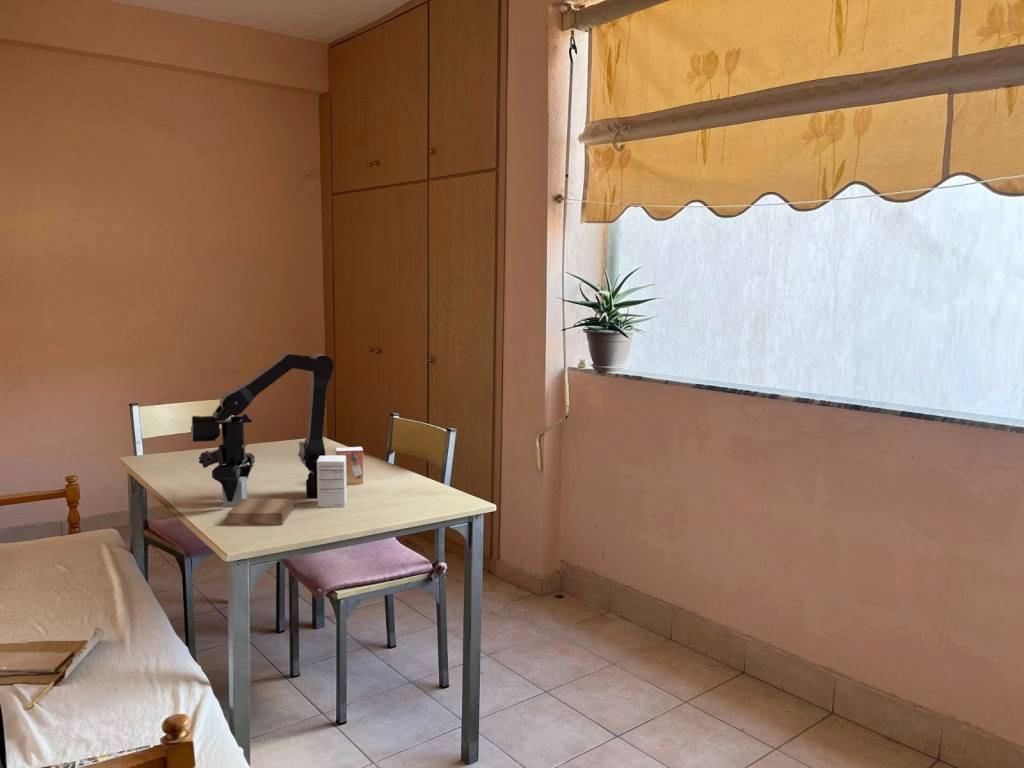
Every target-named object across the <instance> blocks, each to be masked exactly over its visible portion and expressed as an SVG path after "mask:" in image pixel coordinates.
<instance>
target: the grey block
mask: <svg viewBox="0 0 1024 768" xmlns="http://www.w3.org/2000/svg"><path fill="white" fill-rule="evenodd" d="M247 480H248V479H247V477H240V479H239V483H238V485H237V489H236V492H235V495H234V498H233V501H232V502H228V501H227V498H226V495H225V492H224V489H223V487H222V486H221V487H222V488H221V493H222V507H223V508H234V507H235V506H236V505H237V504H238V503H239V502H240V501H241V500H242V499H248V484H247V483H248V482H247Z"/></svg>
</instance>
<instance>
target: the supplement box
mask: <svg viewBox="0 0 1024 768" xmlns="http://www.w3.org/2000/svg"><path fill="white" fill-rule="evenodd" d="M347 493H348V492H347V485H346V456H345V455H335V454H334V455H333V454H332V455H326V456H319V458H318V460H317V497H318V498H317V507H318V508H345V507H346V504H347V500H348V498H347V497H348V495H347Z"/></svg>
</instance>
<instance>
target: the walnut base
mask: <svg viewBox="0 0 1024 768" xmlns="http://www.w3.org/2000/svg"><path fill="white" fill-rule="evenodd" d="M293 511H294V498H247V499H242V500H241V501H240V502H239V503H238V504H237V505H236V506H235V507H232V508H231V509H230V510H229V511H228V513H227V525H228V526H283V524H284V523H285V522H286V521H287V519H288V518H289V517H290V515H291V514H292V512H293Z"/></svg>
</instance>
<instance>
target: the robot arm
mask: <svg viewBox="0 0 1024 768" xmlns="http://www.w3.org/2000/svg"><path fill="white" fill-rule="evenodd" d="M334 368H335V362H334V360H332V358H331V357H330V356H328V355H325V354H322V353H314V354H313V355H304V354H294V353H292V352H286V353H284V354H283V355H281V357H280V358H278V359H277V360H276V361H274V362H273V363H271V364H270V365H269V366H267V367H266V368H265V369H264V370H262V371H261V372H260V373H258V374H257V375H255V376H254V377H253V378H252V379H250V380H248V381H247V382H245V383H244V384H241V385H239V386H237V387H235V388H232V389H230V390H229V391H227V392H225V393H223V394H222V395H221V396H220V399H219V405H218V406H217V408H216V409H215V410H214V412H213V413H212V415H192V416H191V427H190V437H191V443H200V442H201V443H203V442H215V441H216V439H218V438H220V437H221V443H220V444H219V445H218V448H217V449H214V450H211V451H209V450H206V451H205V452H201V453H200V456H199V457H198V459H199V461H198V463H199V464H200V465H202V467H203V469H206V468H208V467H209V466H212V465H214V464H217V463H218V465H216V466H215V467H214V469H212V470H211V478H212V479H213V480H214V481H217V482H218V483H219V484H221V487H223V489H224V492H225V495H226V498H227V501H228V502H232V501H233V498H234V495H235V492H236V489H237V485H238V483H239V479H240V477H247V480H248V479H249V476H250V474H251V471H252V470H253V467H254V464H255V455H254V454H253V453H252V452H246V446H247V445H248V441H246V437H245V436H246V434H245V424H247V423H252V422H253V420H252V419H251V417H249V416H248V414H247V413H246V412H244V411H245V410H246V409H247V408H248V406H250V404H251V403H252V402H253V401H254V399H255V398H256V397H257V396H258V395H259V394H260V393H262V392H263V391H264V390H266V389H267V388H269V386H271V385H272V384H274V383H275V382H276V381H278V380H279V379H280V378H281V377H283V376H285V375H286V373H288V372H290V371H291V370H293V369H294V370H295V369H296V370H302V371H307V373H308V379H309V382H310V393H309V394H310V396H309V408H308V420H307V430H306V431H307V432H306V438H305V440H304V442H303V441H299V442H298V445H299V450H298V451H299V452H298V453H297V456H298V458H299V459H300V463H301V464H302V465H304V467H305V468H307V470H308V471H309V473H308V474H307V478H306V479H305V491H306V493H305V494H306V498H307V499H308V498H309V499H310V498H311V499H313V498H314V499H315V498H317V499H318V497H317V460H318V458H319V456H327V455H326V449H325V443H324V437H323V436H324V425H325V413H326V411H325V410H326V400H327V391H328V390H327V389H328V386H329V384H330V381H331V379H332V375H333V372H334ZM240 414H241V415H240ZM220 425H221V426H220ZM220 427H221V429H220ZM220 432H221V433H220Z"/></svg>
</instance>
